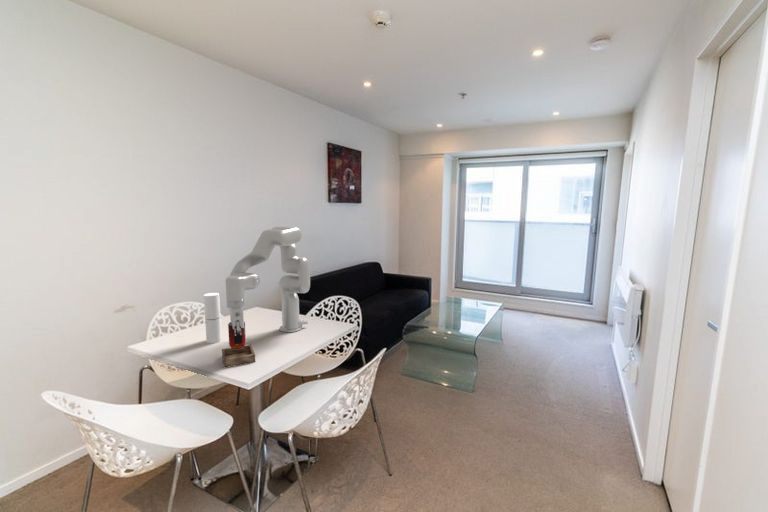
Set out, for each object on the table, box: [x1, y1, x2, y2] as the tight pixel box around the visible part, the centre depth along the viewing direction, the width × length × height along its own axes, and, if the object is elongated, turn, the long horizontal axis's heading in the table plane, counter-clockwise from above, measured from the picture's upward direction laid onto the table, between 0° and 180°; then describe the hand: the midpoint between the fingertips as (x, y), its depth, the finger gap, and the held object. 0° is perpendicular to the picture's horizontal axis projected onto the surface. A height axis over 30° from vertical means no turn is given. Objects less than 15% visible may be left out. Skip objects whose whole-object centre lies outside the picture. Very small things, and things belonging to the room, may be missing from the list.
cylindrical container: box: [203, 292, 223, 344], centre depth 177 cm, size 7×7×25 cm
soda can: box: [227, 321, 247, 350], centre depth 156 cm, size 7×7×12 cm
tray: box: [221, 344, 256, 368], centre depth 157 cm, size 13×13×4 cm
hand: (237, 340), depth 156 cm, fingers closed on soda can, 7 cm apart
